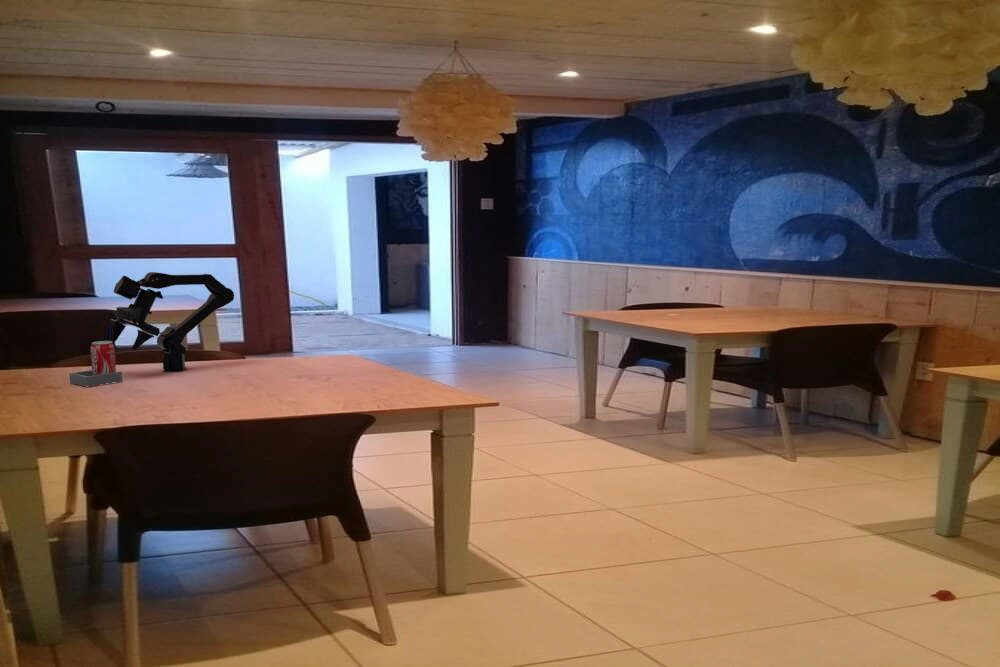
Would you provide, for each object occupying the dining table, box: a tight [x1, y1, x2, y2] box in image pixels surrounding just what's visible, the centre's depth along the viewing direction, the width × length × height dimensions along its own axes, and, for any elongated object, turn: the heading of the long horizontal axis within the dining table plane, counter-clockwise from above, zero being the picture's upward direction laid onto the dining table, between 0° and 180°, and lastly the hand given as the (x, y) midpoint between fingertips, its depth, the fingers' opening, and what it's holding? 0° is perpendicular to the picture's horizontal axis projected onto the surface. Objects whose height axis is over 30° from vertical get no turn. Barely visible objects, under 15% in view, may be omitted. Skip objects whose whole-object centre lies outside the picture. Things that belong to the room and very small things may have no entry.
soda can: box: [90, 340, 117, 376], centre depth 258 cm, size 7×7×13 cm
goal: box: [69, 369, 123, 387], centre depth 257 cm, size 12×12×3 cm
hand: (122, 346), depth 267 cm, fingers open, 9 cm apart
